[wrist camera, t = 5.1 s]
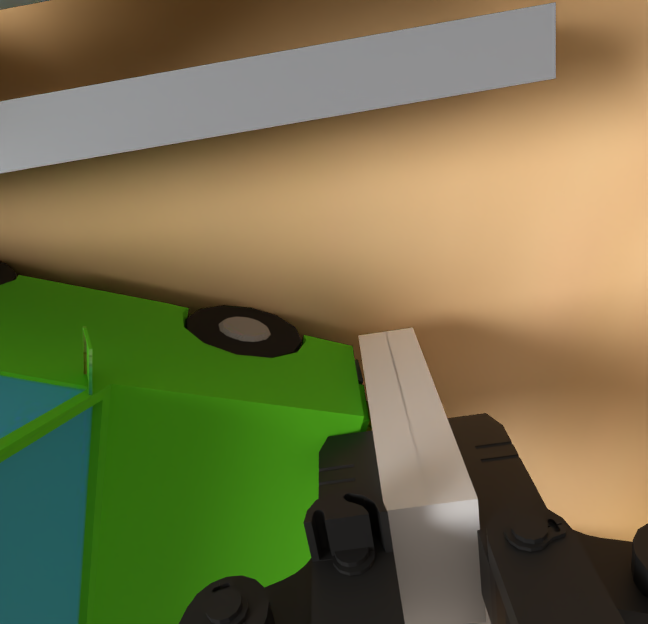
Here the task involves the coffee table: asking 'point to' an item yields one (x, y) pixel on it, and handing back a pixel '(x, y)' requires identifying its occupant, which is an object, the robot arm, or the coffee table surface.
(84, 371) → the toy car
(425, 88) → the grey long bars
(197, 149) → the coffee table surface
